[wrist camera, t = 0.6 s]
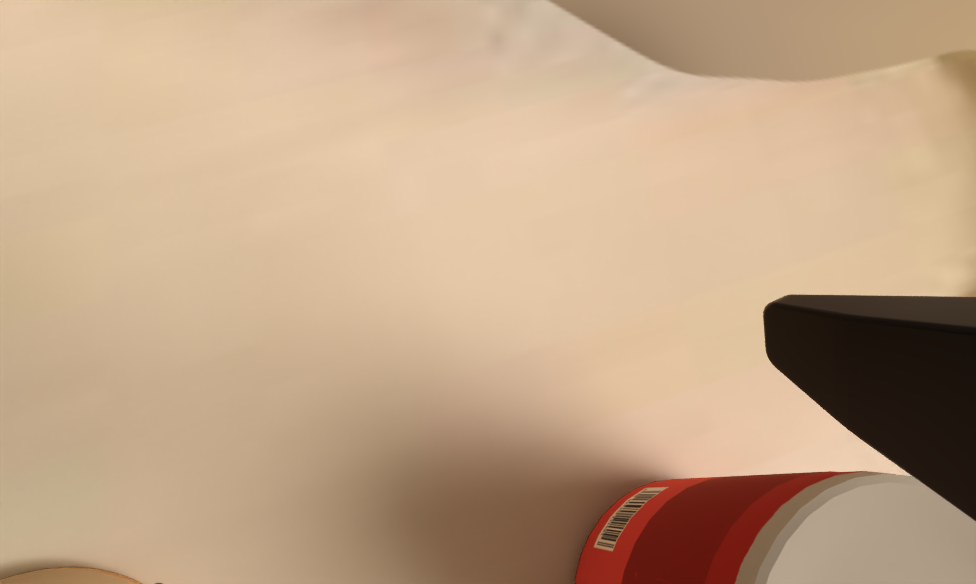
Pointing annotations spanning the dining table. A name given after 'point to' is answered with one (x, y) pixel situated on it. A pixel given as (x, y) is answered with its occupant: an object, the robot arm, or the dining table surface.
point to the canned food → (782, 533)
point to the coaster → (69, 577)
